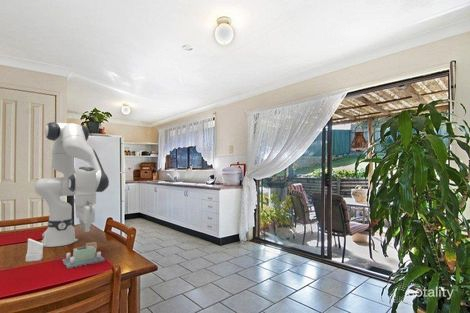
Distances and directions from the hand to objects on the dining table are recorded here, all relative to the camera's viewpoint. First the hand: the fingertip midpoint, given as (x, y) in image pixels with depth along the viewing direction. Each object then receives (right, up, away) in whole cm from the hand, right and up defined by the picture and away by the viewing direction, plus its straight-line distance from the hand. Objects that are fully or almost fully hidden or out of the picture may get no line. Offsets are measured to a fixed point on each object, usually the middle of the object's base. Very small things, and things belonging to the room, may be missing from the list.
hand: (84, 229), depth 125 cm
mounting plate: (0, -15, -1) cm, 15 cm away
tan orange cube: (-3, -16, +11) cm, 19 cm away
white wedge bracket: (-25, -15, +1) cm, 29 cm away
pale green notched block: (0, -14, -1) cm, 14 cm away
